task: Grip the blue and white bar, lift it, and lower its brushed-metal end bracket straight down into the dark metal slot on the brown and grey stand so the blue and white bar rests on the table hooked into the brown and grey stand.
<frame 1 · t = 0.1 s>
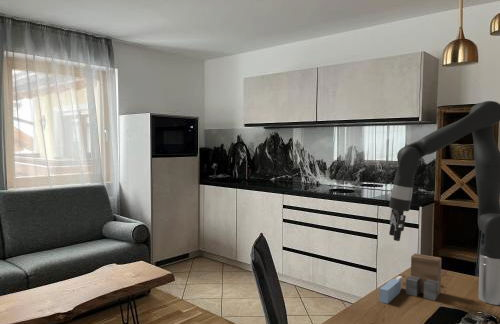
hand: (394, 237, 151), 22 cm above the table, tool pointing down, fingers open, 8 cm apart
blue and white bar: (390, 296, 148), on the table
brown and grey stand: (423, 293, 152), on the table
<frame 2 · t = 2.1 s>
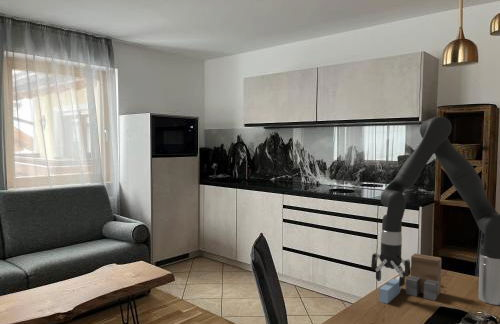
hand: (389, 283, 149), 5 cm above the table, tool pointing down, fingers open, 8 cm apart
nothing on the table moved.
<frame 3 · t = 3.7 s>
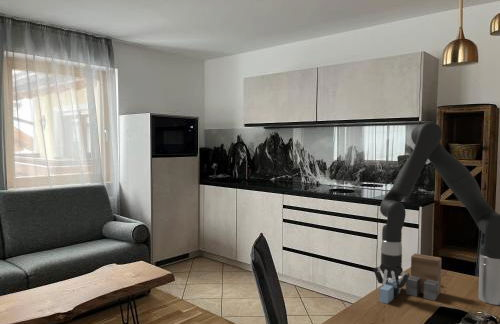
hand: (390, 295, 149), 0 cm above the table, tool pointing down, fingers closed on blue and white bar, 3 cm apart
blue and white bar: (390, 297, 148), on the table, touching gripper
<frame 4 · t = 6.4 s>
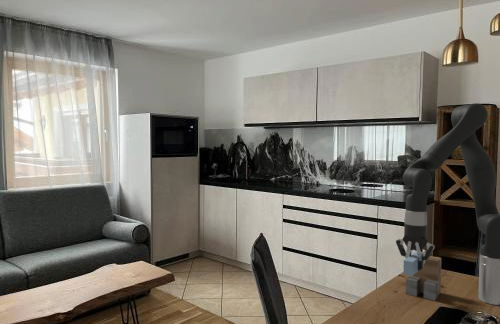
hand: (414, 268, 141), 13 cm above the table, tool pointing down, fingers closed on blue and white bar, 3 cm apart
blue and white bar: (413, 270, 141), point 13 cm above the table, touching gripper
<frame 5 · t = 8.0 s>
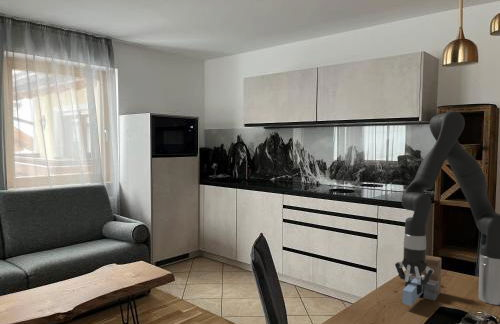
hand: (413, 292, 142), 4 cm above the table, tool pointing down, fingers closed on blue and white bar, 3 cm apart
blue and white bar: (413, 297, 141), point 2 cm above the table, touching gripper
when the fingers open (2 cm above the table, at t = 9.4 s): blue and white bar stays where it is, on the table.
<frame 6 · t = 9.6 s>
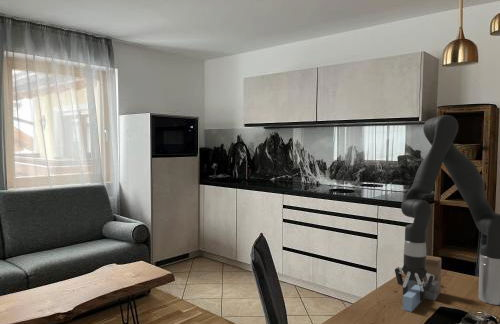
hand: (413, 298, 142), 2 cm above the table, tool pointing down, fingers open, 4 cm apart
blue and white bar: (413, 304, 141), on the table
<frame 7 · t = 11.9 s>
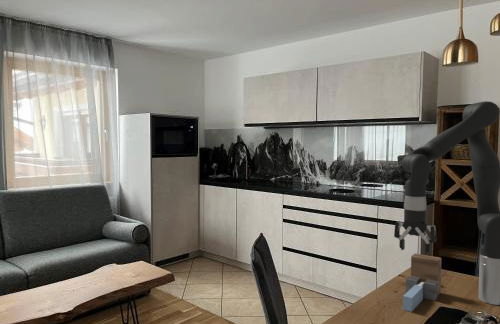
hand: (414, 251, 143), 19 cm above the table, tool pointing down, fingers open, 8 cm apart
nothing on the table moved.
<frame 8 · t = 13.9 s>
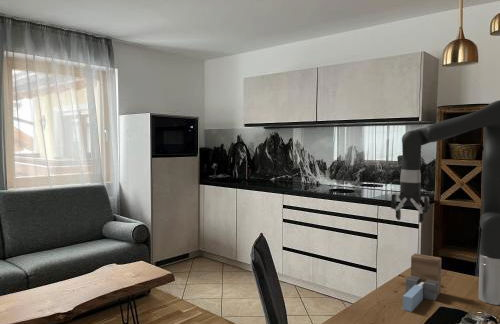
hand: (409, 221, 154), 28 cm above the table, tool pointing down, fingers open, 8 cm apart
nothing on the table moved.
at the end: blue and white bar 0.2 cm from the target spot on the table beside the brown and grey stand, on the table; blue and white bar tilted 0°; the gripper is holding nothing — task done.
